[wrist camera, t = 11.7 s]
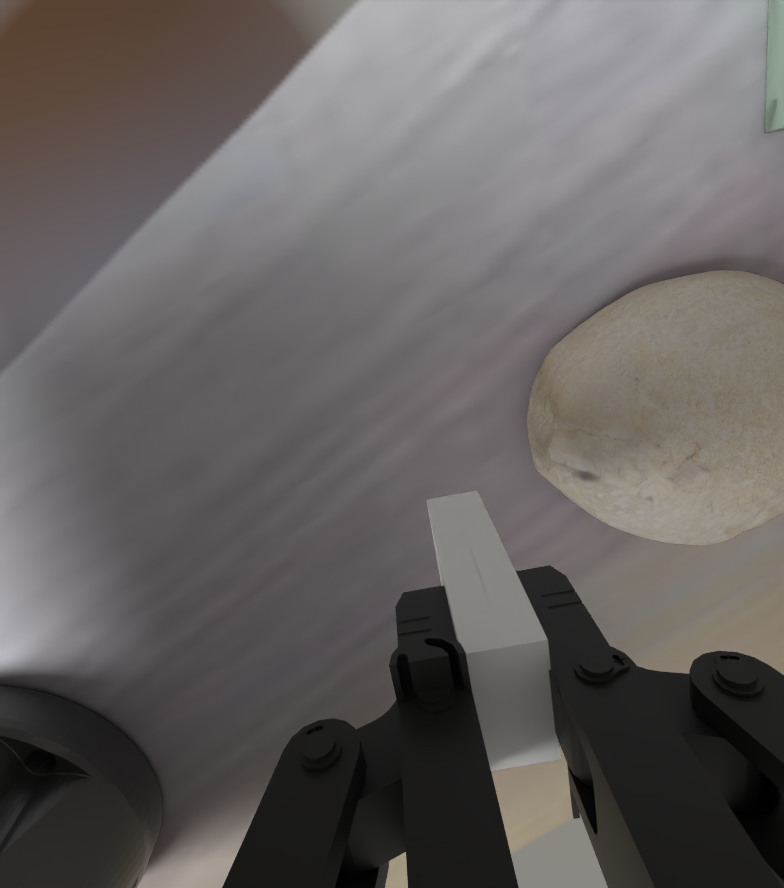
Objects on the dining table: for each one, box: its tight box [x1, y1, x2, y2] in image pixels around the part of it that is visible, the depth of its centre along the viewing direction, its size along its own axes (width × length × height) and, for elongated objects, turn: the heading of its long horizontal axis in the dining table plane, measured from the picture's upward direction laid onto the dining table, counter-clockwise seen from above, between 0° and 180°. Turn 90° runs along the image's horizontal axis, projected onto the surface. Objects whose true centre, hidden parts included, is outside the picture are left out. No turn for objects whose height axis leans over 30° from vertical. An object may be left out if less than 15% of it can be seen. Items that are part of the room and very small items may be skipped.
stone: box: [526, 270, 784, 546], centre depth 21 cm, size 13×10×8 cm
